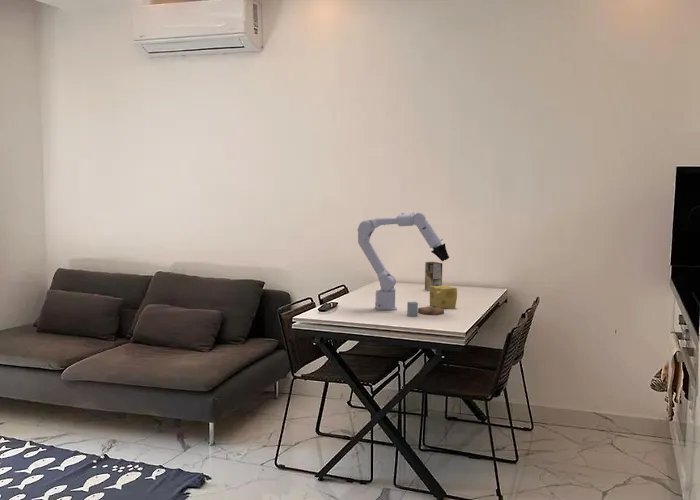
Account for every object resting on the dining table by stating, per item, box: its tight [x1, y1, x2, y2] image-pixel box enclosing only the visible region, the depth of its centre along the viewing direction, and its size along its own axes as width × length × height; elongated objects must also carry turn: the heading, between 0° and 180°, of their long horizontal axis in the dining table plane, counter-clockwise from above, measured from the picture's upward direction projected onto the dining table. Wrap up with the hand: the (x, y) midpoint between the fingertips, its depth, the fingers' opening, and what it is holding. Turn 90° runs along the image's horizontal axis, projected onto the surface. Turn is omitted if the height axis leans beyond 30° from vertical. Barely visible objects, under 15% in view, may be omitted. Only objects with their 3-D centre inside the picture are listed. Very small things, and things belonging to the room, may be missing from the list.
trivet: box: [418, 306, 445, 316], centre depth 314 cm, size 12×12×2 cm
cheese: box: [429, 285, 458, 309], centre depth 329 cm, size 10×11×10 cm
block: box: [406, 301, 419, 317], centre depth 306 cm, size 4×4×6 cm
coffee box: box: [424, 261, 443, 292], centre depth 379 cm, size 9×6×16 cm
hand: (445, 259), depth 314 cm, fingers open, 7 cm apart
